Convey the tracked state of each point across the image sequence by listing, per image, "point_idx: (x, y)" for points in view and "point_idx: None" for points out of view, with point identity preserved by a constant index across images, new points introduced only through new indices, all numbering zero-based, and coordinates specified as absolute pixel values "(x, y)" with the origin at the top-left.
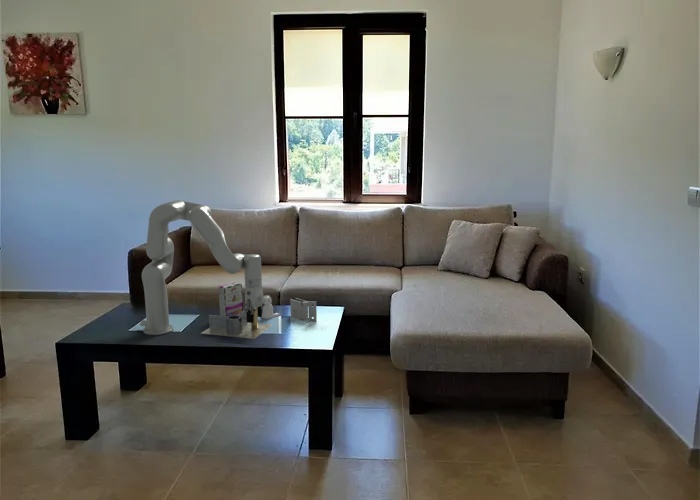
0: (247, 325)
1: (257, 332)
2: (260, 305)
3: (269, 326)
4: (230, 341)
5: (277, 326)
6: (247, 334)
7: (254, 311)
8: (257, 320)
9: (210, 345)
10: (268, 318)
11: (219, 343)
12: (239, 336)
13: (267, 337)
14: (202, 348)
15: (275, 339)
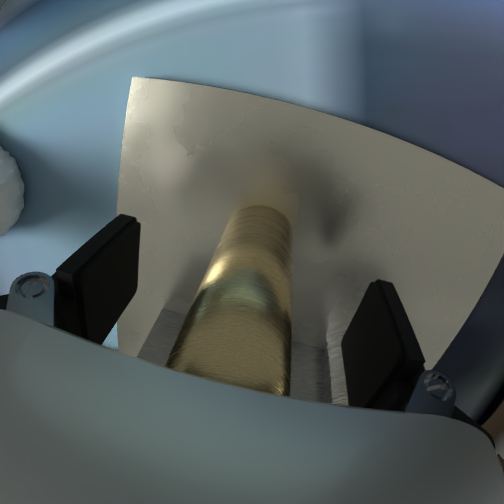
0: (190, 305)
1: (395, 191)
2: (175, 374)
3: (196, 96)
4: (469, 340)
5: (126, 46)
6: (431, 270)
7: (288, 374)
8: (260, 244)
9: (481, 396)
10: (13, 173)
11: (474, 376)
12: (458, 315)
13: (448, 90)
14: (497, 406)
15: (486, 29)
